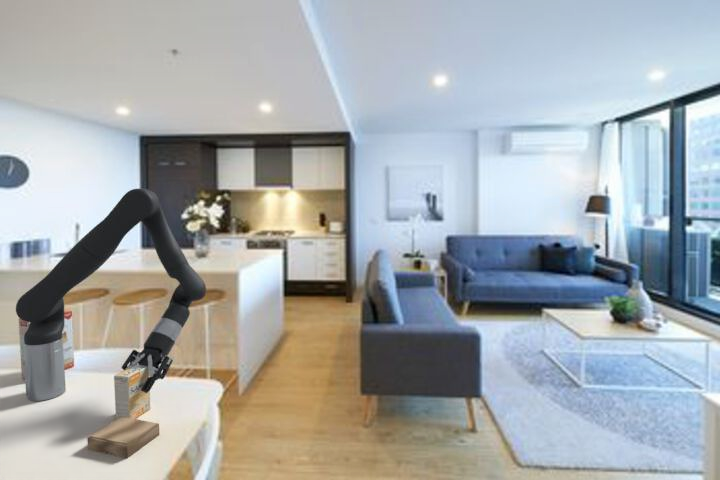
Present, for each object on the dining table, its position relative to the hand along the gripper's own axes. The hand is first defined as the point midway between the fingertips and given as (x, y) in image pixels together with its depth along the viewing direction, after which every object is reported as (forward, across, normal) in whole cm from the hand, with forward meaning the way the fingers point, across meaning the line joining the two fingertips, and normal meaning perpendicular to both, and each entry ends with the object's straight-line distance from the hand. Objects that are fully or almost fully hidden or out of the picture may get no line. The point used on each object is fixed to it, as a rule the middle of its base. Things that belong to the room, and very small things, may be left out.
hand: (132, 389), depth 114 cm
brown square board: (+13, +9, -2) cm, 16 cm away
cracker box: (-2, -51, +12) cm, 53 cm away
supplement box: (+6, 0, +6) cm, 8 cm away
